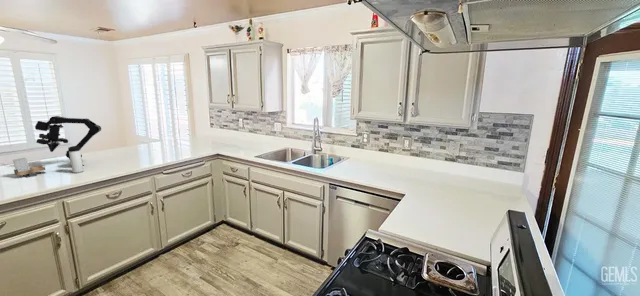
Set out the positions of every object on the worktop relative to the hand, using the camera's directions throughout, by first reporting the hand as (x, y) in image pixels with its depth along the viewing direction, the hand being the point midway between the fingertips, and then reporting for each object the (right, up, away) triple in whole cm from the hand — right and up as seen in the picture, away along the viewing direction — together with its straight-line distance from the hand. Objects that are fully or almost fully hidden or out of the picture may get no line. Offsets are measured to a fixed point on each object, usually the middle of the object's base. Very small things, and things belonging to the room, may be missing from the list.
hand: (51, 151), depth 216 cm
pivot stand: (-2, -17, -13) cm, 21 cm away
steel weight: (-4, -14, -17) cm, 22 cm away
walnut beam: (-2, -15, -15) cm, 21 cm away
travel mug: (+26, -16, -6) cm, 31 cm away
